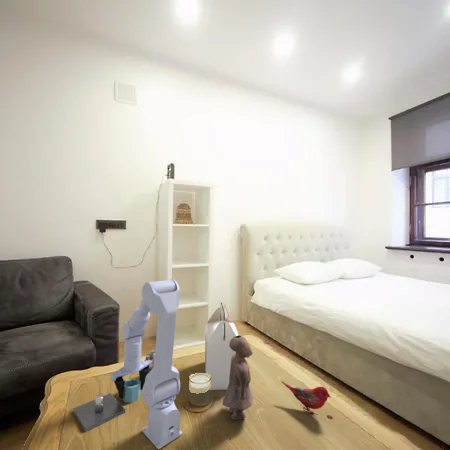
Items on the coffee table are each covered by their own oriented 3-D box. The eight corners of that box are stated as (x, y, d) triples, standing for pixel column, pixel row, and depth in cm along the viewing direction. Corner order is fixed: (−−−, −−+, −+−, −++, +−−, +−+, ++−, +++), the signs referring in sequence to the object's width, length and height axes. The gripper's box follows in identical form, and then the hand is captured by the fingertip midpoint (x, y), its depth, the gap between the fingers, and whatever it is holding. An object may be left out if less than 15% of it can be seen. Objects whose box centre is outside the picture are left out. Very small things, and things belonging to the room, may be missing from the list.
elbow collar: (142, 397, 92) (143, 383, 92) (127, 404, 88) (127, 389, 88) (132, 387, 98) (132, 374, 98) (117, 394, 94) (117, 380, 94)
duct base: (125, 412, 84) (125, 396, 84) (85, 432, 76) (85, 414, 76) (110, 395, 93) (110, 381, 93) (72, 411, 84) (73, 395, 84)
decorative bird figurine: (329, 425, 80) (329, 392, 81) (278, 400, 92) (279, 371, 92) (332, 420, 83) (332, 388, 83) (282, 396, 94) (282, 368, 94)
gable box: (240, 389, 98) (242, 315, 99) (205, 391, 97) (207, 315, 98) (233, 361, 120) (234, 300, 121) (204, 361, 119) (206, 300, 120)
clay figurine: (258, 427, 79) (259, 344, 80) (226, 431, 77) (228, 346, 78) (247, 400, 92) (248, 329, 92) (219, 403, 90) (221, 330, 91)
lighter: (148, 384, 100) (149, 357, 101) (140, 382, 101) (141, 356, 101) (157, 373, 108) (158, 348, 109) (150, 372, 109) (151, 348, 109)
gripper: (145, 345, 100) (144, 380, 100) (107, 357, 90) (106, 397, 90) (155, 351, 95) (154, 388, 95) (116, 364, 85) (114, 406, 85)
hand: (131, 393), depth 92 cm, fingers open, 7 cm apart
